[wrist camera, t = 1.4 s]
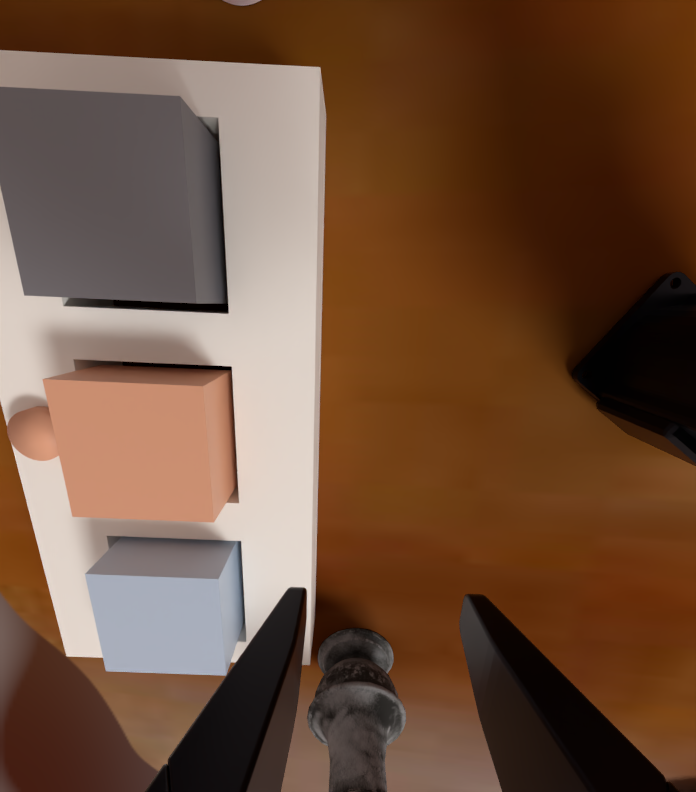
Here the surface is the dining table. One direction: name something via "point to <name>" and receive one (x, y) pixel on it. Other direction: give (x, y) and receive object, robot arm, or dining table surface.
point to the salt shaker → (356, 709)
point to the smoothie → (241, 2)
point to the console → (193, 333)
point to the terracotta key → (145, 441)
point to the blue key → (168, 604)
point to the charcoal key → (112, 196)
